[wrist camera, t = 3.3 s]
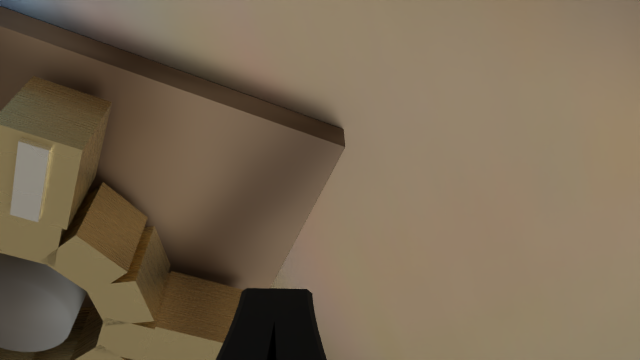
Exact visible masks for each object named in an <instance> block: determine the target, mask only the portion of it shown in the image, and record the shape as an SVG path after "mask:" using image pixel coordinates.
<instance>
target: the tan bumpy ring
mask: <svg viewBox="0 0 640 360" xmlns="http://www.w3.org/2000/svg"><path fill="white" fill-rule="evenodd" d="M111 103H112V102H109V101H106V100H104V99H101V98H98V97H95V96H92V95H89V94H86V93H83V92H80V91H77V90H74V89H71V88H68V87H65V86H62V85H59V84H56V83H53V82H50V81H47V80H44V79H41V78H38V77H35V76H33V77H32V78H31V79H30V80H29V81H28V82H27V83H26V84H25V85H24V86H23V88H22V89H21V90H20V91H19V92H18V93H17V94H16V95H15V96H14V97H13V98H12V99H11V101H10V102H9V103H8V104H7V105H6V106H5V107H4V108H3V109H2V110H1V111H0V253H3V254H7V255H11V256H15V257H18V258H22V259H26V260H30V261H34V262H38V263H42V264H46V265H48V266H49V267H51V268H52V269H54V270H55V271H57V272H58V273H60V274H61V275H63V276H64V277H66V278H67V279H69V280H70V281H72V282H73V283H75V284H76V285H78V286H79V287H81V288H82V289H84V290H86V291H87V293H88V295H89V297H90V298H91V300H92V302H93V304H94V306H92V307H83V308H80V310H79V312H78V315H77V317H76V319H75V322H74V324H73V326H72V329H71V331H70V333H69V335H68V337H67V338H66V339H65V341H64V342H62V343H61V344H60V345H58V346H56V347H54V348H51V349H48V350H44V351H37V352H20V351H12V350H7V349H3V348H0V360H216V358H217V355H218V353H219V351H220V349H221V347H222V345H223V342H224V340H225V338H226V335H227V333H228V331H229V328H230V326H231V323H232V321H233V318H234V315H235V312H236V309H237V307H238V304H239V300H240V296H241V293H242V291H243V290H242V289H238V288H234V287H231V286H227V285H223V284H219V283H216V282H212V281H208V280H204V279H201V278H197V277H193V276H190V275H186V274H182V273H178V272H175V271H171V273H168V271H169V268H170V263H169V261H168V258H167V256H166V253H165V251H164V248H163V246H162V244H161V241H160V239H159V236H158V234H157V231H156V229H155V226H150V227H144V226H145V224H146V221H147V218H148V217H146V216H145V215H144V214H143V213H141V212H140V211H139V210H138V209H136V208H135V207H134V206H133V205H131V204H130V203H129V202H128V201H126V200H125V199H124V198H123V197H121V196H120V195H119V194H118V193H116V192H115V191H114V190H113V189H111V188H110V187H109V186H108V185H106V184H105V183H104V182H102V183H101V184H100V185H98V186H97V187H95V188H94V189H93V190H91V191H90V192H89V193H87V191H88V189H89V188H90V186H91V184H92V182H93V180H94V178H95V176H96V171H97V167H98V162H99V158H100V153H101V149H102V144H103V139H104V135H105V130H106V126H107V121H108V117H109V112H110V108H111Z"/></svg>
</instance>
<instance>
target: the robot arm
mask: <svg viewBox="0 0 640 360" xmlns="http://www.w3.org/2000/svg"><path fill="white" fill-rule="evenodd" d="M216 360H327V359H326V356H325V353H324V349H323V346H322V342H321V338H320V335H319V331H318V327H317V322H316V318H315V313H314V306H313V299H312V293H311V292H310V291H309V290H307V289H274V288H246V289H245V290H243V291H242V293H241V296H240V300H239V304H238V307H237V309H236V312H235V315H234V318H233V321H232V323H231V326H230V328H229V331H228V333H227V335H226V338H225V340H224V342H223V345H222V347H221V349H220V351H219V353H218V355H217V358H216Z"/></svg>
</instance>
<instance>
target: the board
mask: <svg viewBox="0 0 640 360" xmlns="http://www.w3.org/2000/svg"><path fill="white" fill-rule="evenodd" d="M33 76H35V77H38V78H41V79H44V80H47V81H50V82H53V83H56V84H59V85H62V86H65V87H68V88H71V89H74V90H77V91H80V92H83V93H86V94H89V95H92V96H95V97H98V98H101V99H104V100H106V101H109V102H112V103H111V108H110V112H109V117H108V121H107V126H106V130H105V135H104V139H103V144H102V149H101V153H100V158H99V162H98V167H97V171H96V176H95V178H94V180H93V182H92V184H91V186H90V188H89V189H88V191H87V193H89V192H90V191H91V190H93V189H94V188H95V187H97V186H98V185H100V184H101V183H102V182H104V183H105V184H106V185H108V186H109V187H110V188H111V189H113V190H114V191H115V192H116V193H118V194H119V195H120V196H121V197H123V198H124V199H125V200H126V201H128V202H129V203H130V204H131V205H133V206H134V207H135V208H136V209H138V210H139V211H140V212H141V213H143V214H144V215H145V216H146V217H148V218H147V221H146V224H145V226H144V227H150V226H155V229H156V231H157V234H158V236H159V239H160V241H161V244H162V246H163V248H164V251H165V253H166V256H167V258H168V261H169V263H170V268H169V271H168V273H171V271H175V272H178V273H182V274H186V275H190V276H193V277H197V278H201V279H204V280H208V281H212V282H216V283H219V284H223V285H227V286H231V287H234V288H238V289H242V290H245V289H246V288H270V287H271V285H272V284H273V282H274V280H275V278H276V276H277V274H278V272H279V270H280V269H281V267H282V265H283V263H284V261H285V259H286V257H287V255H288V254H289V252H290V250H291V248H292V246H293V244H294V242H295V240H296V239H297V237H298V235H299V233H300V231H301V229H302V227H303V225H304V224H305V222H306V220H307V218H308V216H309V214H310V212H311V210H312V209H313V207H314V205H315V203H316V201H317V199H318V197H319V195H320V194H321V192H322V190H323V188H324V186H325V184H326V182H327V180H328V179H329V177H330V175H331V173H332V171H333V169H334V167H335V165H336V164H337V162H338V160H339V158H340V156H341V154H342V152H343V150H344V149H345V140H344V129H341V128H338V127H335V126H332V125H330V124H327V123H324V122H321V121H319V120H316V119H313V118H310V117H307V116H305V115H302V114H299V113H296V112H293V111H291V110H288V109H285V108H282V107H280V106H277V105H274V104H271V103H268V102H266V101H263V100H260V99H257V98H254V97H252V96H249V95H246V94H243V93H241V92H238V91H235V90H232V89H229V88H227V87H224V86H221V85H218V84H216V83H213V82H210V81H207V80H204V79H202V78H199V77H196V76H193V75H190V74H188V73H185V72H182V71H179V70H177V69H174V68H171V67H168V66H165V65H163V64H160V63H157V62H154V61H151V60H149V59H146V58H143V57H140V56H138V55H135V54H132V53H129V52H126V51H124V50H121V49H118V48H115V47H113V46H110V45H107V44H104V43H101V42H99V41H96V40H93V39H90V38H87V37H85V36H82V35H79V34H76V33H74V32H71V31H68V30H65V29H62V28H60V27H57V26H54V25H51V24H48V23H46V22H43V21H40V20H37V19H35V18H32V17H29V16H26V15H23V14H21V13H18V12H15V11H12V10H10V9H7V8H4V7H1V6H0V111H1V110H2V109H3V108H4V107H5V106H6V105H7V104H8V103H9V102H10V101H11V99H12V98H13V97H14V96H15V95H16V94H17V93H18V92H19V91H20V90H21V89H22V88H23V86H24V85H25V84H26V83H27V82H28V81H29V80H30V79H31V78H32V77H33ZM92 306H94V304H93V302H92V300H91V298H90V297H89V295H88V293H87V291H86V290H84V289H82V288H81V287H79V286H78V285H76V284H75V283H73V282H72V281H70V280H69V279H67V278H66V277H64V276H63V275H61V274H60V273H58V272H57V271H55V270H54V269H52V268H51V267H49V266H48V265H46V264H42V263H38V262H34V261H30V260H26V259H22V258H18V257H15V256H11V255H7V254H3V253H0V348H3V349H7V350H12V351H20V352H37V351H44V350H48V349H51V348H54V347H56V346H58V345H60V344H61V343H62V342H64V341H65V339H66V338H67V337H68V335H69V333H70V331H71V329H72V326H73V324H74V322H75V319H76V317H77V315H78V312H79V310H80V308H83V307H92Z"/></svg>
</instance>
